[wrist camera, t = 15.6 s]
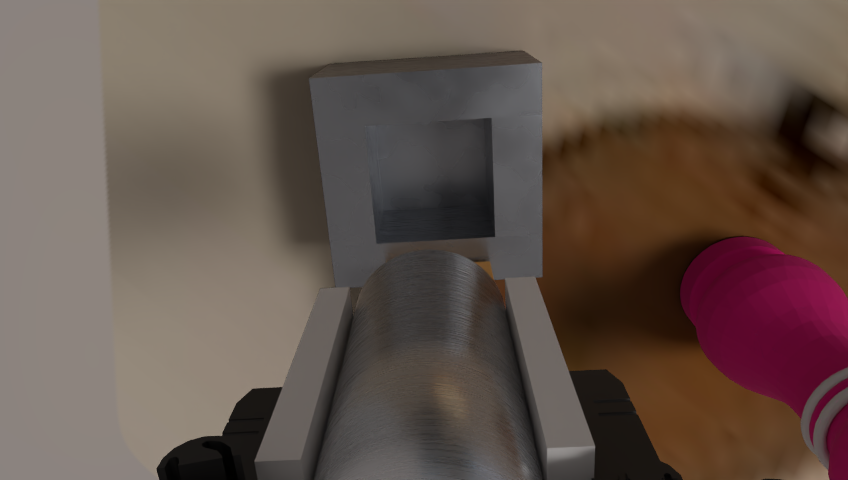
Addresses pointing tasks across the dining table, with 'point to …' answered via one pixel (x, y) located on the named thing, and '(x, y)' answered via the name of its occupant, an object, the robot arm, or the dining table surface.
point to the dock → (432, 161)
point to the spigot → (429, 380)
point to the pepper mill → (776, 334)
